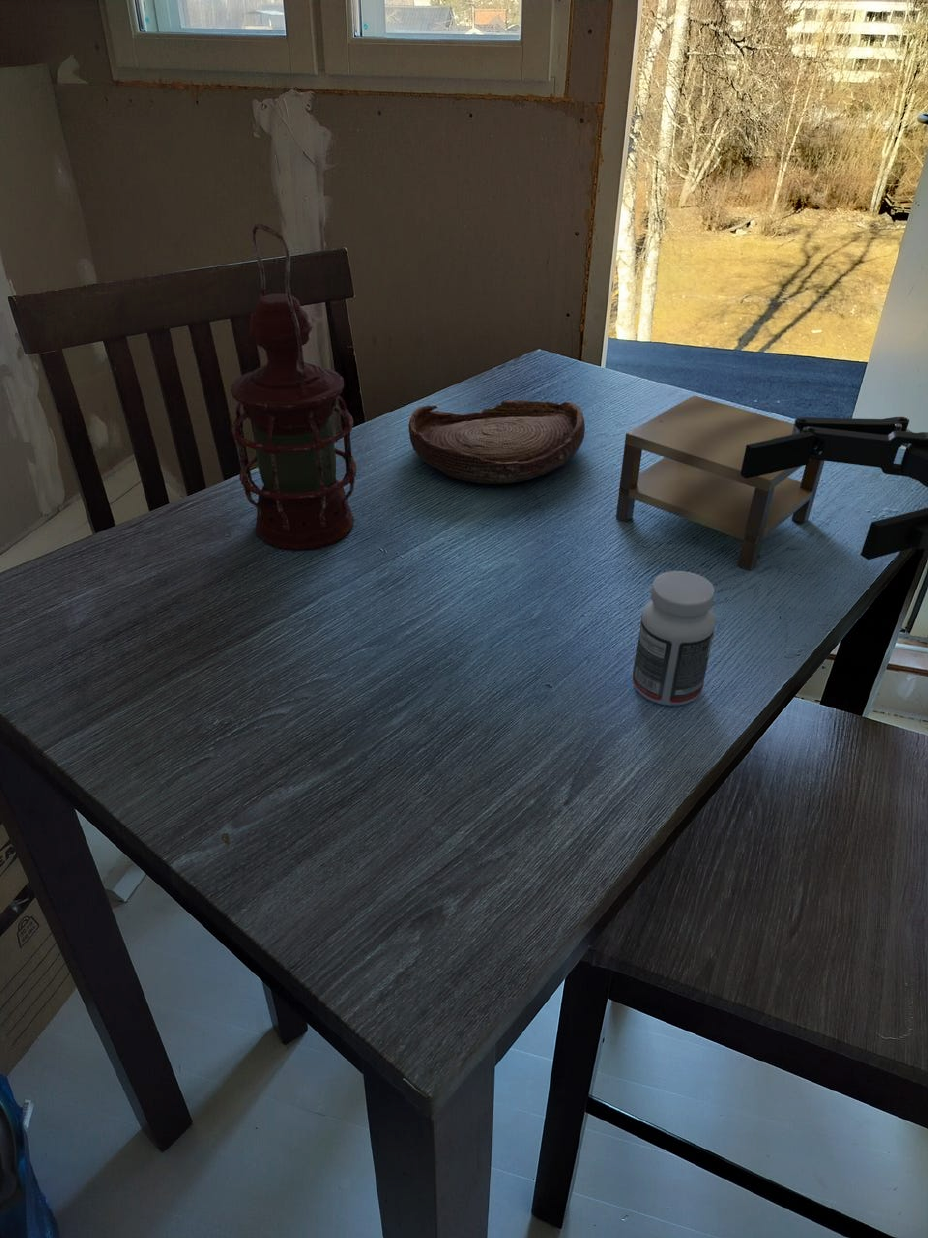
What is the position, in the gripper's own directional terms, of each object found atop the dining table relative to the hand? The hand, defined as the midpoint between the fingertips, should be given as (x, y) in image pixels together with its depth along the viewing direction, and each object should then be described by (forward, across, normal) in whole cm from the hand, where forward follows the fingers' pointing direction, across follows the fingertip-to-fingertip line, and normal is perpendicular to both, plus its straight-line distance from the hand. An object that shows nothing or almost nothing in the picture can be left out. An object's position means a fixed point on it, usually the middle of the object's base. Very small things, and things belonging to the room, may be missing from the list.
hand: (802, 498), depth 65 cm
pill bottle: (+10, 0, -16) cm, 18 cm away
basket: (+4, +46, -16) cm, 49 cm away
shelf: (-11, +22, -16) cm, 29 cm away
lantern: (+31, +38, -16) cm, 51 cm away
